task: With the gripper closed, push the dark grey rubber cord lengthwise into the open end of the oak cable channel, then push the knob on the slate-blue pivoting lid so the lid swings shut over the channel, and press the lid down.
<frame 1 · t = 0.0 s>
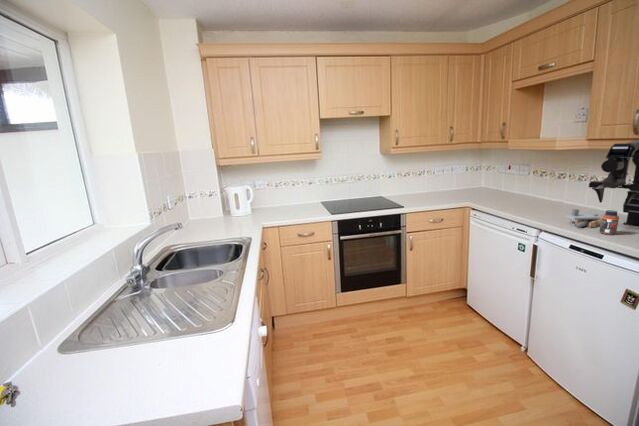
hand: (612, 203, 142), 15 cm above the countertop, tool pointing down, fingers open, 9 cm apart
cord: (581, 227, 158), on the countertop
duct: (588, 224, 161), on the countertop
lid: (583, 213, 162), point 5 cm above the countertop, hinge at -30.0°
supplement bottle: (607, 233, 145), on the countertop
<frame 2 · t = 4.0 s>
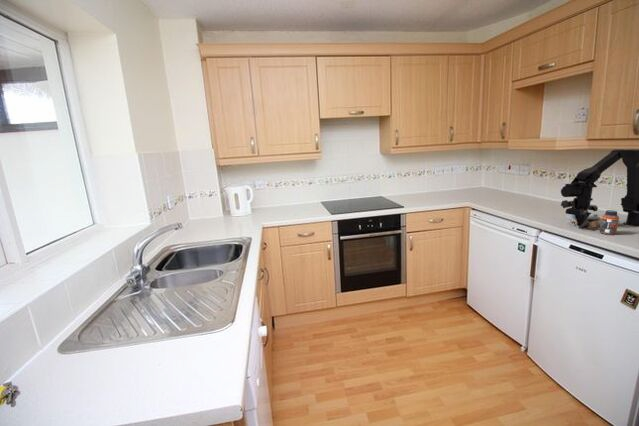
hand: (579, 225, 156), 1 cm above the countertop, tool pointing down, fingers closed
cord: (583, 226, 158), on the countertop, touching gripper
everything else where it was.
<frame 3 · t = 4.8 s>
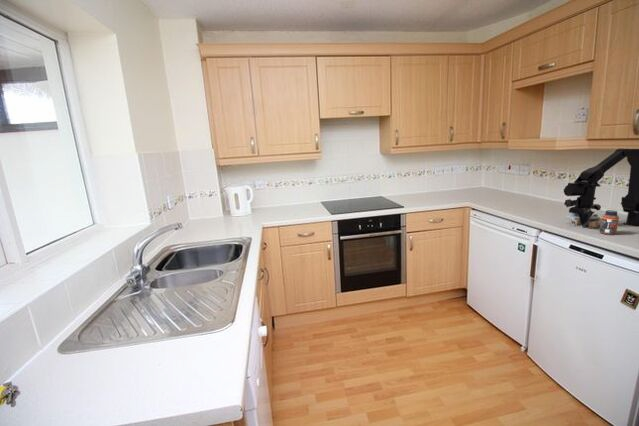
hand: (582, 224, 157), 1 cm above the countertop, tool pointing down, fingers closed
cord: (587, 225, 160), on the countertop, touching gripper
everything else where it was.
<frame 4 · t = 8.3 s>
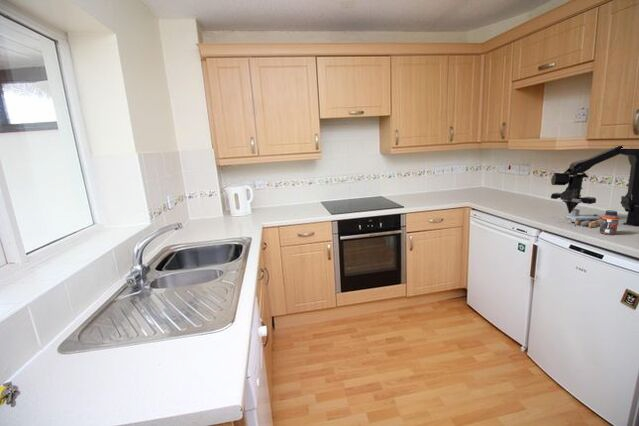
hand: (569, 213, 166), 5 cm above the countertop, tool pointing down, fingers closed
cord: (586, 225, 160), on the countertop, tilted 7°
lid: (584, 214, 162), point 5 cm above the countertop, hinge at -27.2°, touching gripper
everything else where it was.
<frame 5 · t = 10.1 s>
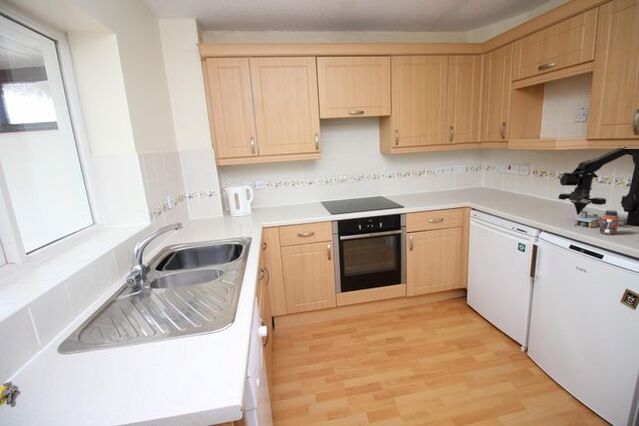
hand: (578, 214, 161), 6 cm above the countertop, tool pointing down, fingers closed
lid: (590, 215, 159), point 5 cm above the countertop, hinge at 0.8°, touching gripper
everything else where it was.
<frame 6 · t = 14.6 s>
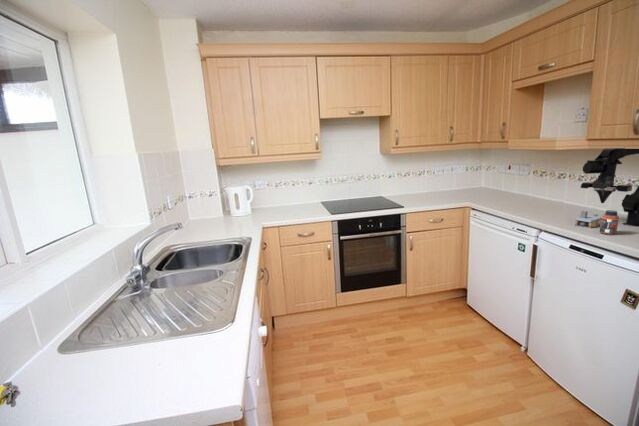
hand: (602, 202, 157), 12 cm above the countertop, tool pointing down, fingers closed
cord: (587, 225, 160), on the countertop, tilted 18°
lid: (590, 215, 159), point 5 cm above the countertop, hinge at 0.9°
everything else where it was.
at the end: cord 2.4 cm from the target spot, on the countertop; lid at +1° (first picture: -30°) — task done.
